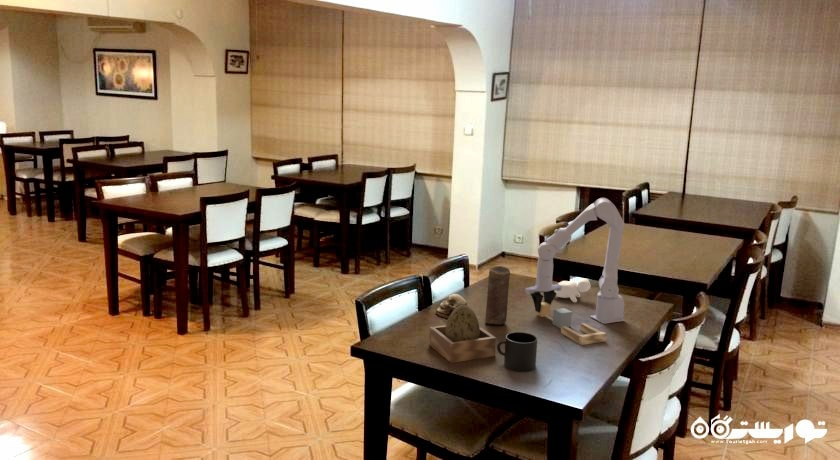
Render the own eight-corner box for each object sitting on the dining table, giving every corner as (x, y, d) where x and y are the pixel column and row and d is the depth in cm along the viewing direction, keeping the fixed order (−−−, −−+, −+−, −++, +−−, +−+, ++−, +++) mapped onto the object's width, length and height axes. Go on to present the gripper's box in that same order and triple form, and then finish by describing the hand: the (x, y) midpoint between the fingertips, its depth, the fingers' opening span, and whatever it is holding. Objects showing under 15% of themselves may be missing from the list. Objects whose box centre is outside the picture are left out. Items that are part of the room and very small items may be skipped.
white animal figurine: (554, 307, 277) (591, 298, 270) (548, 286, 276) (585, 278, 270) (559, 301, 284) (595, 293, 278) (553, 281, 284) (589, 272, 277)
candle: (508, 321, 249) (511, 267, 245) (504, 328, 243) (507, 272, 238) (487, 318, 252) (490, 264, 248) (482, 325, 245) (485, 270, 241)
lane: (583, 329, 244) (584, 322, 243) (605, 341, 233) (606, 333, 233) (560, 333, 240) (561, 325, 239) (581, 345, 229) (582, 336, 229)
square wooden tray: (471, 338, 232) (472, 321, 231) (495, 355, 218) (496, 337, 217) (429, 344, 226) (429, 327, 224) (450, 362, 212) (451, 344, 211)
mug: (500, 356, 218) (502, 328, 216) (538, 362, 214) (540, 334, 212) (491, 367, 210) (493, 338, 208) (531, 374, 205) (533, 345, 203)
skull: (431, 315, 251) (436, 289, 256) (437, 326, 259) (442, 301, 264) (463, 318, 247) (468, 292, 252) (468, 330, 256) (473, 304, 261)
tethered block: (546, 313, 259) (547, 299, 258) (570, 326, 246) (571, 311, 245) (535, 314, 258) (536, 300, 256) (560, 328, 244) (561, 313, 243)
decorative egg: (468, 359, 215) (470, 313, 212) (438, 351, 220) (439, 306, 217) (484, 348, 224) (486, 304, 220) (455, 341, 229) (456, 297, 226)
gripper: (554, 270, 261) (552, 305, 264) (521, 274, 256) (519, 309, 258) (566, 275, 255) (563, 311, 258) (532, 279, 249) (529, 315, 252)
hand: (542, 310), depth 258 cm, fingers closed on tethered block, 3 cm apart
